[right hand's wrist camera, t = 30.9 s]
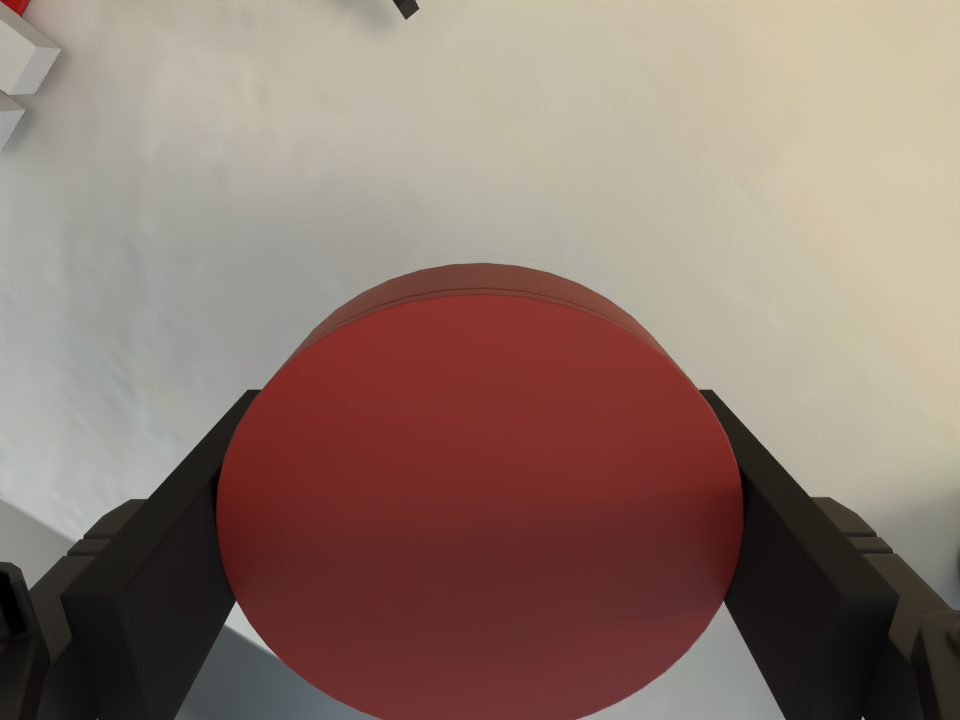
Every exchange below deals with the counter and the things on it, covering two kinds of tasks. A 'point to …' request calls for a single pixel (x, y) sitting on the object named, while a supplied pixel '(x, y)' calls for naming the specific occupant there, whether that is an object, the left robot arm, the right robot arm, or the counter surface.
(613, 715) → the counter surface
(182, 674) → the right robot arm
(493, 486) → the lid
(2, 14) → the toy
